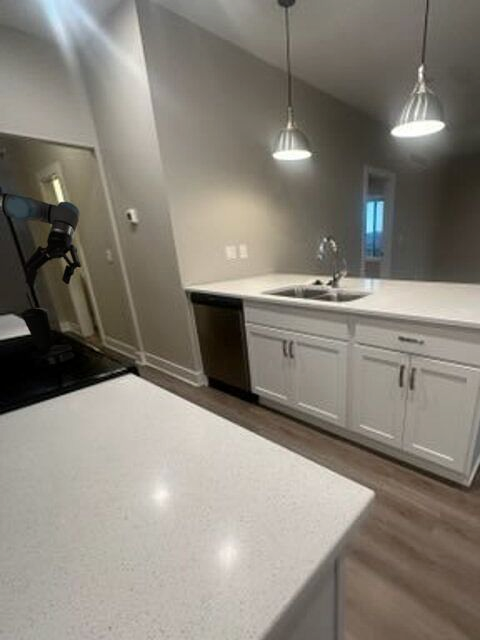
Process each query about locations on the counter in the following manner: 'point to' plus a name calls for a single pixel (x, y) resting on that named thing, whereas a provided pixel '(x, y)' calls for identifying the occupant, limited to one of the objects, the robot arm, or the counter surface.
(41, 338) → the drinking cup
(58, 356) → the stand
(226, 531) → the counter surface
